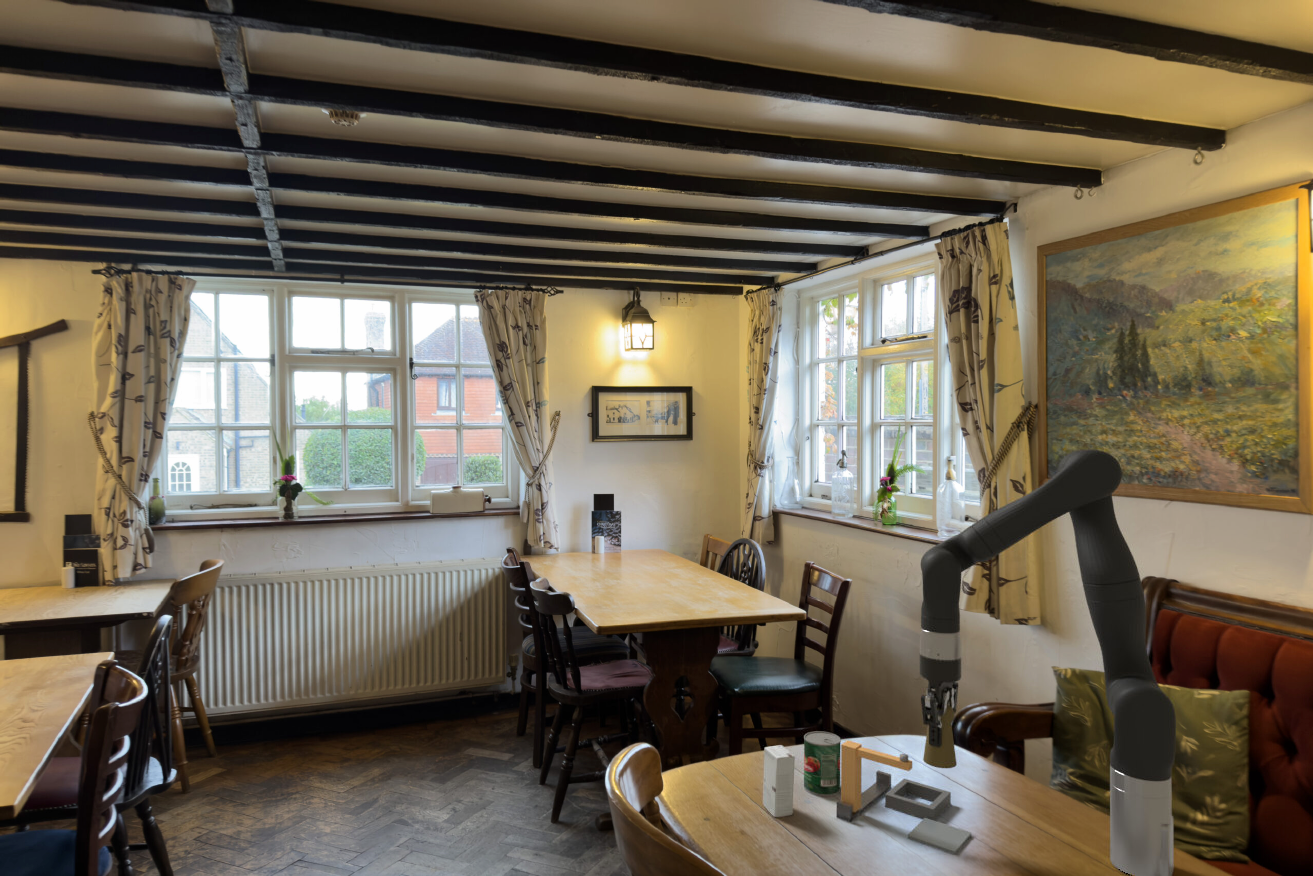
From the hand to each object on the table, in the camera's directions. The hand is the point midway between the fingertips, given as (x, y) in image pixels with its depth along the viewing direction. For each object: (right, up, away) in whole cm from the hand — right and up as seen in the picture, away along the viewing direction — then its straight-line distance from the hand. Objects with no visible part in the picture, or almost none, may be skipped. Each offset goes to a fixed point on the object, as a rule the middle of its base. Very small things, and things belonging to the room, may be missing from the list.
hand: (940, 741), depth 144 cm
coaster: (0, -18, 0) cm, 18 cm away
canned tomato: (-18, -19, +20) cm, 33 cm away
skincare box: (-29, -18, +10) cm, 36 cm away
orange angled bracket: (-11, -17, +5) cm, 21 cm away
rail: (-11, -18, +14) cm, 25 cm away
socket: (0, -18, +13) cm, 22 cm away
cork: (0, -4, 0) cm, 4 cm away
